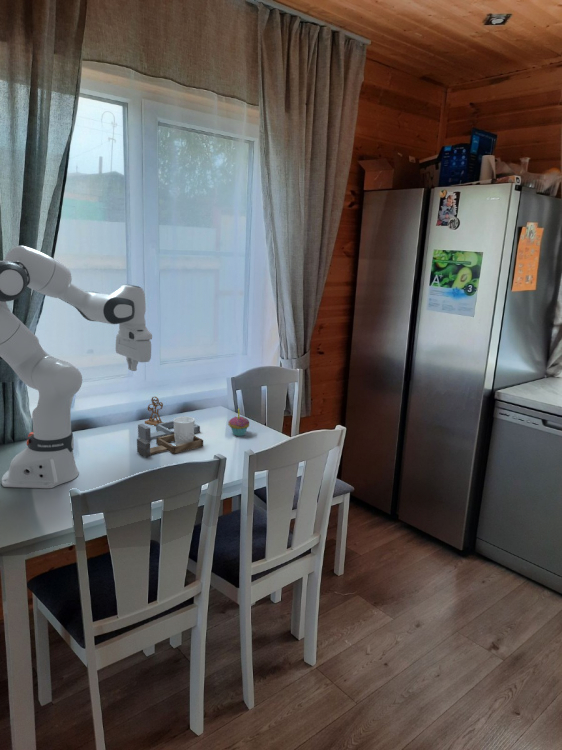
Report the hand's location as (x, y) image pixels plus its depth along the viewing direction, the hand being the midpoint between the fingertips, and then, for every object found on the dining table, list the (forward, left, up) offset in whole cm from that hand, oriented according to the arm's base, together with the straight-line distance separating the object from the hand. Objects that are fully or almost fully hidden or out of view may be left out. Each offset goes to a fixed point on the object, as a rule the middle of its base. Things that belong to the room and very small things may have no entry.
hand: (132, 370), depth 196 cm
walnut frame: (+12, 0, -30) cm, 32 cm away
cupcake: (+40, +13, -30) cm, 52 cm away
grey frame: (+12, +16, -30) cm, 36 cm away
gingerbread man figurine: (+7, +28, -30) cm, 42 cm away
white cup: (+18, +3, -30) cm, 35 cm away
